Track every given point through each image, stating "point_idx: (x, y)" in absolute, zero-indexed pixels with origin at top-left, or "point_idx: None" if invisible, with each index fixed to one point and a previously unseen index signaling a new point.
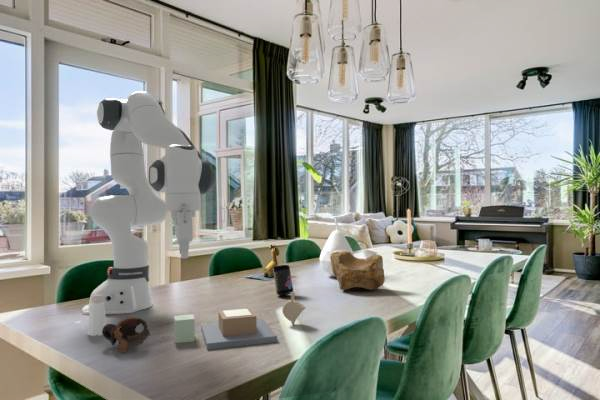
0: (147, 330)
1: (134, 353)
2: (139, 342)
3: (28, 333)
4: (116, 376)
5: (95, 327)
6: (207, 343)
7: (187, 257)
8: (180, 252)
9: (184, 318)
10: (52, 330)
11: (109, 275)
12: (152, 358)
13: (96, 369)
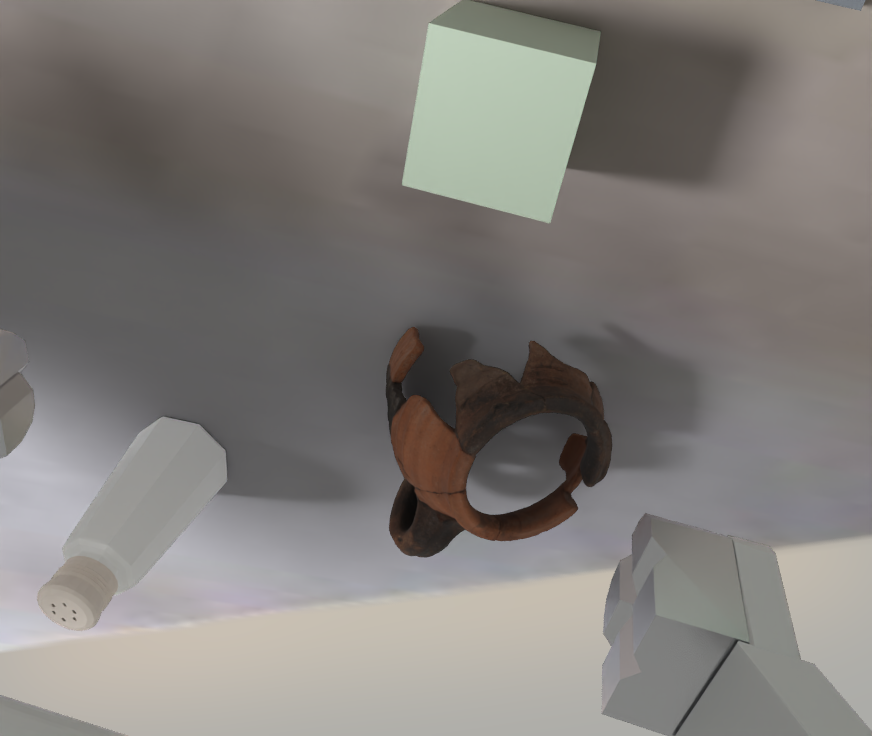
0: (542, 376)
1: None
2: (599, 403)
3: None
4: (864, 518)
5: (203, 498)
6: (862, 6)
7: (765, 557)
8: (7, 441)
9: (529, 136)
10: None
11: None
12: (743, 344)
13: None
